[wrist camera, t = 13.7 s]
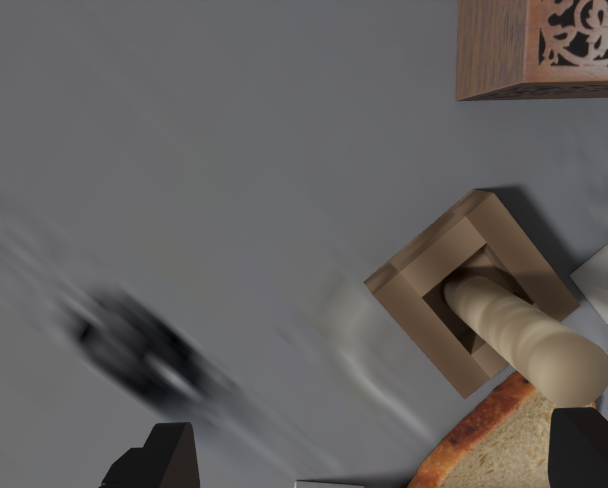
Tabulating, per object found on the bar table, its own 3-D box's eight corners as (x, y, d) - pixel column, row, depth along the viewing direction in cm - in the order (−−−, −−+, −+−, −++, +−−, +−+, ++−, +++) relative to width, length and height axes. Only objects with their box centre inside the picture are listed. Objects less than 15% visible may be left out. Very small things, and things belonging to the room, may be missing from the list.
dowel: (466, 258, 38) (584, 326, 23) (492, 290, 39) (624, 377, 24) (431, 287, 38) (526, 373, 24) (458, 319, 39) (567, 421, 24)
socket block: (473, 189, 38) (493, 192, 34) (553, 291, 40) (580, 305, 36) (363, 282, 38) (373, 295, 35) (448, 378, 40) (464, 399, 37)
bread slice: (585, 341, 41) (616, 360, 37) (588, 526, 45) (617, 560, 41) (374, 373, 40) (385, 395, 37) (394, 559, 44) (405, 597, 40)
